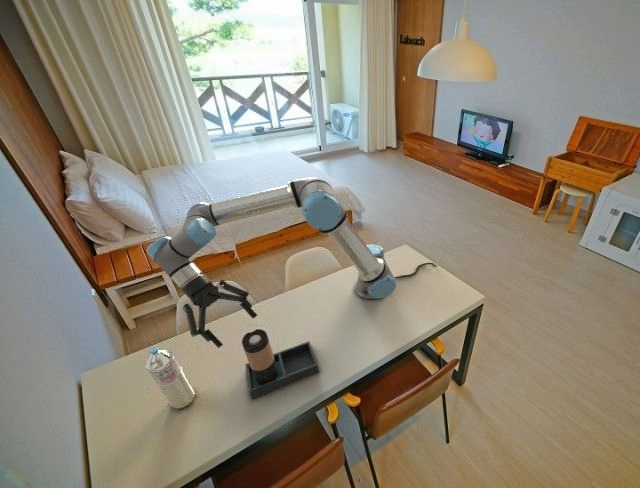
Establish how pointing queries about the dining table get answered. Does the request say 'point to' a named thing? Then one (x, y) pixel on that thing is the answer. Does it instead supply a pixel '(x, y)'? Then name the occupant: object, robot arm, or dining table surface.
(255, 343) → the travel mug
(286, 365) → the divided organizer tray
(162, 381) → the water bottle
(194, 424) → the dining table surface
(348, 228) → the robot arm
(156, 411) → the dining table surface
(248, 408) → the dining table surface
